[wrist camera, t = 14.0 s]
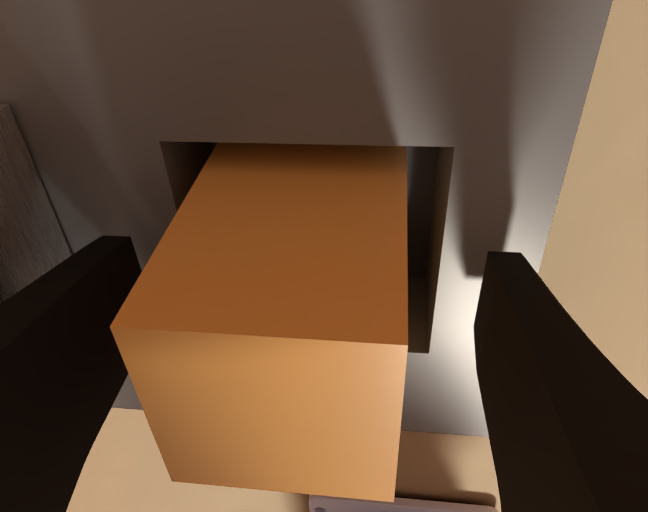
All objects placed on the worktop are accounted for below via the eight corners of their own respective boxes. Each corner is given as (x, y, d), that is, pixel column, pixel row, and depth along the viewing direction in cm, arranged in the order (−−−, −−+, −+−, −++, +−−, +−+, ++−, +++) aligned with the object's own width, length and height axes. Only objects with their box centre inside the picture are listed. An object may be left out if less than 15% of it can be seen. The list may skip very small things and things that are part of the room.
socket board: (480, 354, 17) (492, 437, 15) (67, 328, 19) (20, 400, 16) (576, -93, 10) (630, -66, 7) (-124, -73, 11) (-260, -45, 9)
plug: (397, 253, 15) (393, 502, 9) (254, 246, 15) (171, 481, 10) (406, 114, 12) (408, 345, 7) (235, 112, 13) (110, 326, 7)
